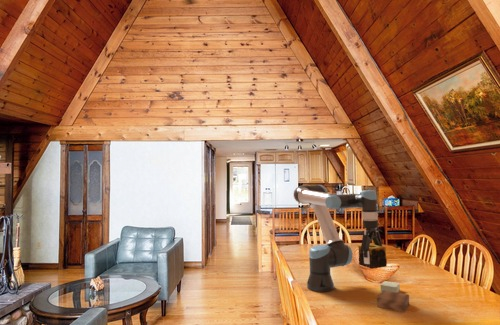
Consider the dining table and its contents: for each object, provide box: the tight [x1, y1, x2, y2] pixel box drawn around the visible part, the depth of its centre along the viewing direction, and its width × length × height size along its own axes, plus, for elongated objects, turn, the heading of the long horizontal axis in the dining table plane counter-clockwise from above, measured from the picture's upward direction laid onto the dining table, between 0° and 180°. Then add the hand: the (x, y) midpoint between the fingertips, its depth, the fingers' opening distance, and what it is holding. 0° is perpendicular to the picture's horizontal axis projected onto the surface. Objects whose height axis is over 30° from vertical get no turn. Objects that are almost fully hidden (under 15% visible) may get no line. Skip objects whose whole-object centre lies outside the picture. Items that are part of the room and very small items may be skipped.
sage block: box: [380, 280, 400, 293], centre depth 183 cm, size 8×8×4 cm
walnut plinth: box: [376, 290, 410, 313], centre depth 162 cm, size 12×12×5 cm
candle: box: [357, 243, 388, 270], centre depth 172 cm, size 10×10×10 cm
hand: (372, 261), depth 172 cm, fingers closed on candle, 13 cm apart
